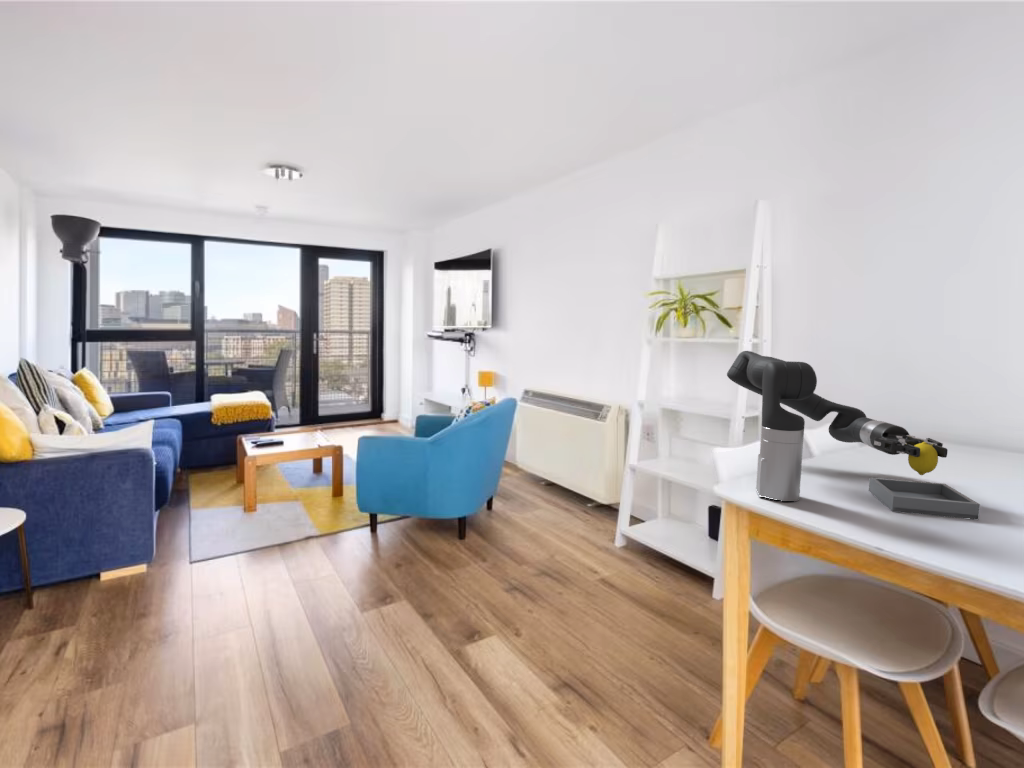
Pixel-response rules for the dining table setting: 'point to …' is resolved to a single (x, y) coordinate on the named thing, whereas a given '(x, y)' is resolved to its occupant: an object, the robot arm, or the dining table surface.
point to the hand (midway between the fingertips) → (931, 452)
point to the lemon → (924, 459)
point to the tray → (923, 498)
